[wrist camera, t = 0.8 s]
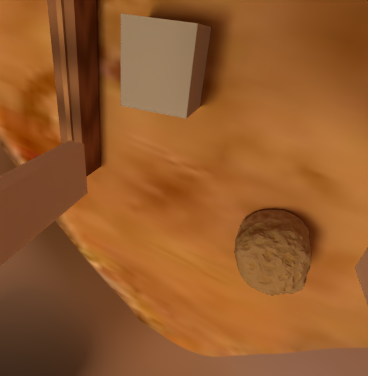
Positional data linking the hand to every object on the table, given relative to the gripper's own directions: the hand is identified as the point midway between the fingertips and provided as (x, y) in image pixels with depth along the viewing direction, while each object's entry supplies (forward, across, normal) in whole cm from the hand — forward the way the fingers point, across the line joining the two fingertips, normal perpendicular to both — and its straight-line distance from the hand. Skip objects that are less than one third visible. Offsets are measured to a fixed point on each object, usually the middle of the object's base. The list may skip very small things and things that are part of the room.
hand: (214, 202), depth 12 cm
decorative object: (+21, +7, -16) cm, 28 cm away
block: (+21, -9, +3) cm, 23 cm away
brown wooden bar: (+21, -20, +3) cm, 29 cm away
